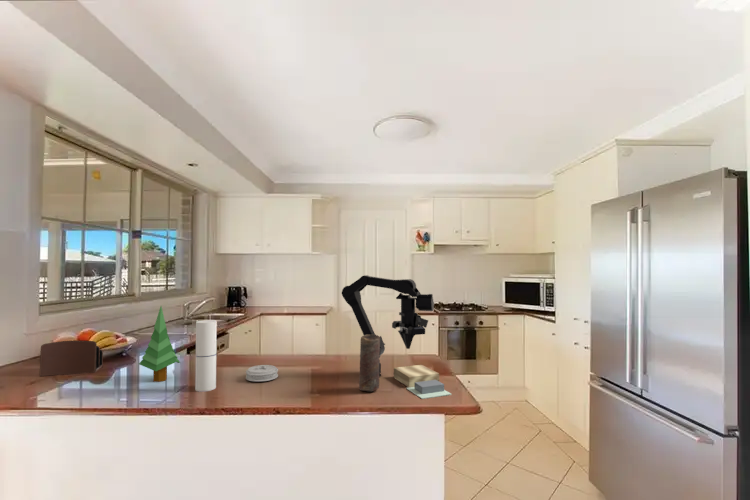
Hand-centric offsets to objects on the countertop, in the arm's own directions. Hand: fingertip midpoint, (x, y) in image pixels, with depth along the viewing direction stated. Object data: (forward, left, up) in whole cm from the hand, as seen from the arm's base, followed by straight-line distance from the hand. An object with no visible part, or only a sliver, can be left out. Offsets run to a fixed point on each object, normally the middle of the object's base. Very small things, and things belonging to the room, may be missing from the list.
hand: (408, 348), depth 164 cm
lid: (-55, +22, -12) cm, 61 cm away
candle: (-20, -8, -12) cm, 25 cm away
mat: (-1, -17, -12) cm, 21 cm away
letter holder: (-129, +63, -12) cm, 145 cm away
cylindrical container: (-76, +17, -12) cm, 79 cm away
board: (+1, -4, -12) cm, 13 cm away
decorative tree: (-93, +35, -12) cm, 100 cm away
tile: (0, -17, -9) cm, 19 cm away
